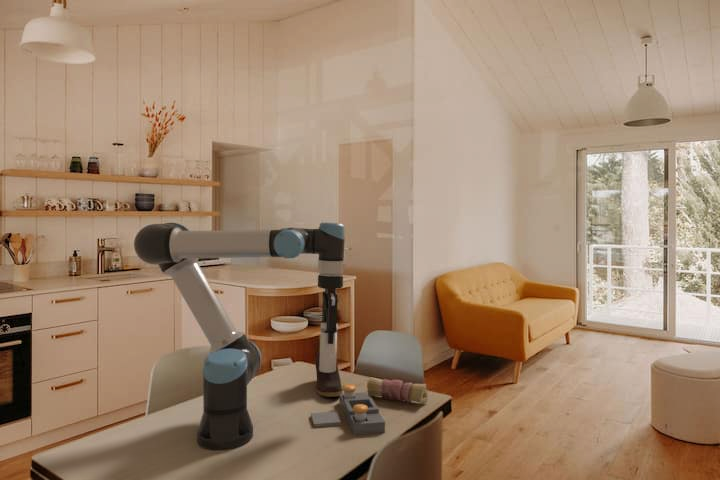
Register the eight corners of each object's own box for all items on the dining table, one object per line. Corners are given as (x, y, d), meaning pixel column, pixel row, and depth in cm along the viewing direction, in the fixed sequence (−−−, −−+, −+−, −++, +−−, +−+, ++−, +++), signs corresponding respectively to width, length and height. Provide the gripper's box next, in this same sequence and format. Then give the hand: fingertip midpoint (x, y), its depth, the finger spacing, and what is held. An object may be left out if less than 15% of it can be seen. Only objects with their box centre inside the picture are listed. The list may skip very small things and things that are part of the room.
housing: (354, 434, 141) (354, 420, 141) (339, 403, 164) (339, 391, 164) (384, 432, 143) (385, 418, 143) (366, 401, 166) (366, 389, 166)
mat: (314, 427, 146) (314, 423, 146) (311, 416, 153) (311, 413, 153) (341, 425, 147) (341, 421, 147) (336, 414, 155) (336, 411, 155)
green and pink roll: (430, 395, 169) (375, 386, 176) (428, 378, 165) (372, 370, 173) (424, 412, 162) (368, 402, 170) (422, 395, 159) (364, 385, 167)
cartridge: (337, 372, 148) (339, 322, 147) (320, 373, 147) (321, 322, 146) (334, 367, 153) (336, 318, 152) (317, 367, 152) (319, 319, 151)
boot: (321, 402, 165) (321, 342, 164) (309, 379, 188) (309, 326, 187) (346, 400, 167) (347, 341, 166) (332, 377, 190) (332, 325, 189)
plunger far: (343, 404, 159) (343, 389, 159) (341, 399, 163) (341, 385, 163) (356, 403, 160) (356, 388, 160) (354, 398, 164) (354, 384, 164)
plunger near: (354, 426, 142) (354, 410, 142) (351, 420, 146) (351, 404, 146) (368, 425, 143) (369, 409, 143) (365, 419, 147) (365, 403, 147)
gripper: (348, 278, 140) (346, 359, 142) (337, 270, 158) (335, 343, 159) (322, 278, 139) (319, 360, 140) (314, 270, 156) (312, 343, 158)
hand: (328, 351), depth 150 cm, fingers closed on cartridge, 5 cm apart
